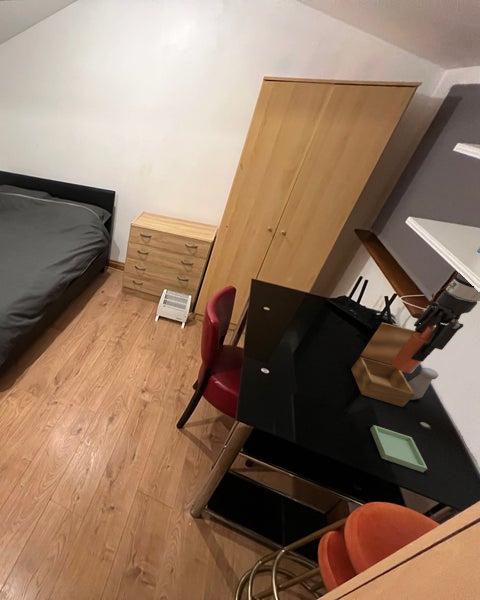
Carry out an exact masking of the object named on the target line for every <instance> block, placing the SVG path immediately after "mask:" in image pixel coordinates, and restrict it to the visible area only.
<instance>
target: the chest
mask: <svg viewBox="0 0 480 600" xmlns="http://www.w3.org/2000/svg"><path fill="white" fill-rule="evenodd" d="M350 370H351V372H352V375H353V377H354V380H355V382H356V384H357V388H358V389H359V391H360V395H361V396H364V397H368V398H371V399H375V400H378V401H381V402H384V403H387V404H391V405H395V406H398V407H402V408H404V407H405V406H406V405H407V404H408V403H409V402H410V400H411V398H412V397H413V396H414V395H415V394H414V392H413V390H412V389H411V387H410V385H409V384H408V382H409V381H408V379H406V377H405V375H404V374H403V373H404V372H402V371H400V370H398V369H396V368H395V367H393V366H392V364H388V363H384V362H381V361H377V360H373V359H369V358H366V357H362V356H359V358H357V360H356V362H355V363H354V364H353V365H352V366H351V368H350Z"/></svg>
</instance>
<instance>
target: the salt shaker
mask: <svg viewBox="0 0 480 600" xmlns="http://www.w3.org/2000/svg"><path fill="white" fill-rule="evenodd" d="M419 373H420V374H418V375H417V376H415V377H414V378H411V380H409V381H407V382H408V384H409V385H410V387H411V389H412V390H413V392H414V394H415V395H414V396H413V397H412V398H411V399H410V400H412V401H414V400H418V399H421V398H423V396H424V395H425V393H426V392H427V390H428V388H429V386H430V384H431V383H432V381H433V380H436V379H437V378H438V377H439V373H438V371H436V370H435V369H433V368H430V367H423V368H422V369H421V370H420V372H419Z"/></svg>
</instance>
